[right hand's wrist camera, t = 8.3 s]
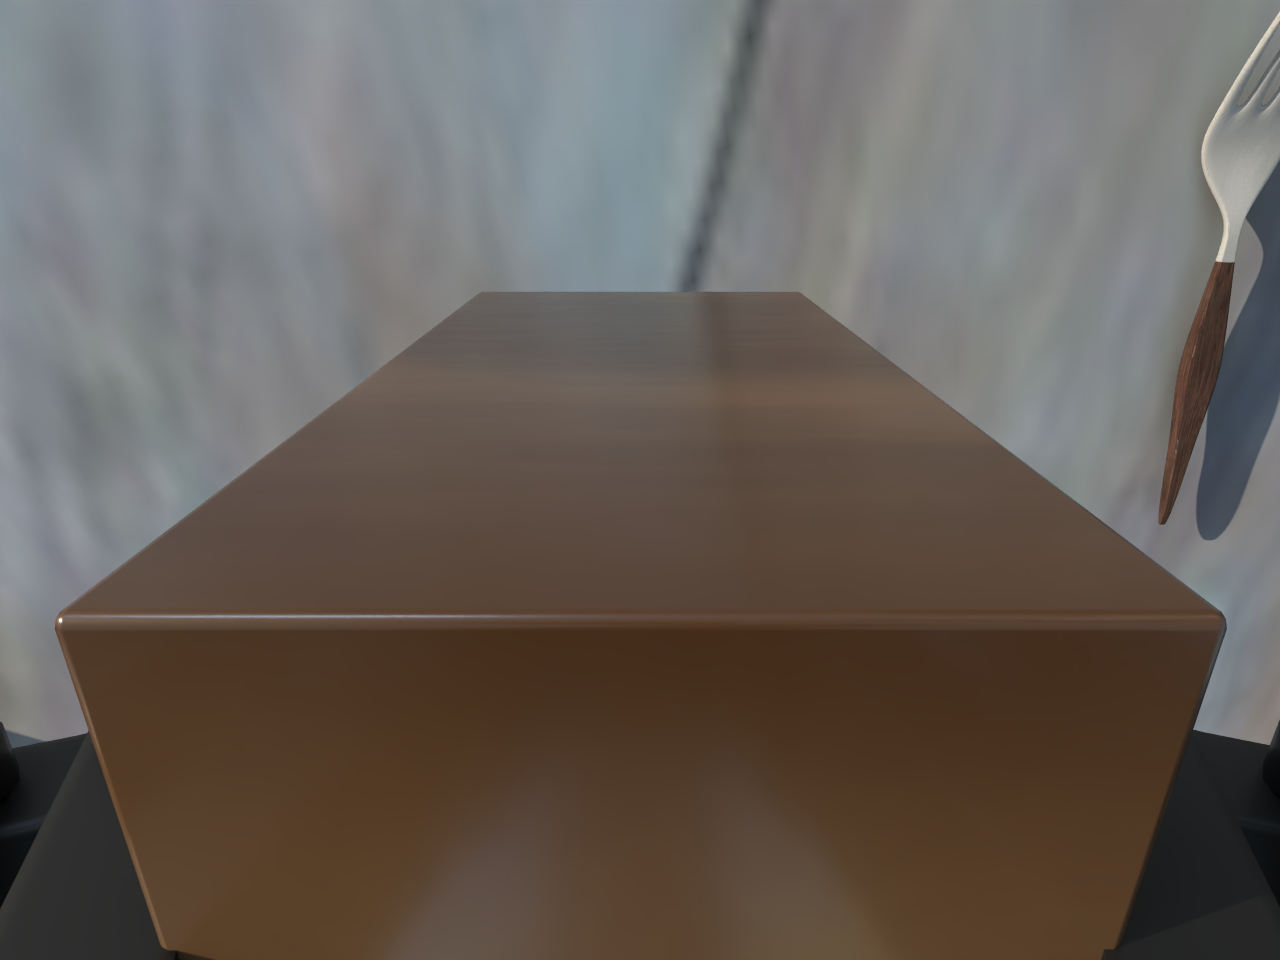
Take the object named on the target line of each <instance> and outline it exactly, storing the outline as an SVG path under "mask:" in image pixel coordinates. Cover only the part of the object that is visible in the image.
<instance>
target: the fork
mask: <svg viewBox="0 0 1280 960" xmlns="http://www.w3.org/2000/svg"><path fill="white" fill-rule="evenodd" d="M1279 24H1280V12H1279V14H1278V15H1277V17H1276V18H1275V20H1274V21H1273V23H1272V24H1271V26H1270V27H1269V29H1268V30H1267V32H1266V33H1265V35H1264V36H1263V38H1262V39H1261V41H1260V42H1259V44H1258V45H1257V47H1256V49H1255V50H1254V52H1253V53H1252V55H1251V56H1250V58H1249V59H1248V61H1247V63H1246V64H1245V66H1244V67H1243V69H1242V71H1241V72H1240V74H1239V75H1238V77H1237V79H1236V80H1235V82H1234V84H1233V85H1232V87H1231V89H1230V90H1229V92H1228V94H1227V96H1226V97H1225V99H1224V101H1223V103H1222V104H1221V106H1220V108H1219V109H1218V111H1217V113H1216V115H1215V117H1214V118H1213V120H1212V122H1211V124H1210V126H1209V128H1208V130H1207V133H1206V135H1205V138H1204V141H1203V145H1202V152H1201V160H1202V167H1203V171H1204V175H1205V178H1206V180H1207V182H1208V185H1209V187H1210V189H1211V191H1212V193H1213V195H1214V197H1215V199H1216V201H1217V203H1218V206H1219V208H1220V210H1221V213H1222V216H1223V221H1224V234H1223V239H1222V243H1221V246H1220V249H1219V252H1218V255H1217V258H1216V261H1215V264H1214V267H1213V269H1212V272H1211V275H1210V278H1209V281H1208V283H1207V286H1206V289H1205V291H1204V294H1203V297H1202V300H1201V302H1200V305H1199V308H1198V311H1197V313H1196V316H1195V319H1194V322H1193V324H1192V327H1191V330H1190V333H1189V336H1188V339H1187V342H1186V345H1185V348H1184V351H1183V355H1182V358H1181V362H1180V366H1179V370H1178V375H1177V381H1176V388H1175V395H1174V404H1173V413H1172V422H1171V430H1170V438H1169V446H1168V452H1167V459H1166V465H1165V471H1164V477H1163V484H1162V491H1161V498H1160V507H1159V524H1165V523H1166V521H1167V519H1168V517H1169V515H1170V513H1171V510H1172V508H1173V505H1174V503H1175V500H1176V497H1177V495H1178V492H1179V489H1180V486H1181V483H1182V480H1183V477H1184V474H1185V471H1186V468H1187V465H1188V462H1189V459H1190V456H1191V453H1192V450H1193V447H1194V445H1195V442H1196V439H1197V436H1198V433H1199V431H1200V428H1201V425H1202V422H1203V420H1204V417H1205V414H1206V411H1207V409H1208V406H1209V403H1210V400H1211V397H1212V394H1213V391H1214V388H1215V385H1216V381H1217V378H1218V374H1219V370H1220V366H1221V360H1222V355H1223V349H1224V342H1225V335H1226V328H1227V320H1228V312H1229V304H1230V296H1231V287H1232V279H1233V271H1234V264H1235V256H1236V250H1237V244H1238V239H1239V235H1240V231H1241V228H1242V225H1243V222H1244V220H1245V218H1246V216H1247V214H1248V212H1249V210H1250V208H1251V206H1252V205H1253V203H1254V201H1255V200H1256V198H1257V196H1258V195H1259V193H1260V192H1261V190H1262V188H1263V187H1264V185H1265V184H1266V182H1267V181H1268V179H1269V177H1270V176H1271V174H1272V173H1273V171H1274V169H1275V168H1276V166H1277V164H1278V162H1279V161H1280V87H1279V89H1278V90H1277V92H1276V93H1275V95H1274V96H1273V97H1272V99H1271V100H1270V101H1269V102H1268V103H1267V104H1266V105H1264V106H1262V100H1263V97H1264V95H1265V93H1266V91H1267V89H1268V87H1269V85H1270V83H1271V82H1272V80H1273V78H1274V76H1275V75H1276V73H1277V71H1278V69H1279V68H1280V50H1279V52H1278V53H1277V55H1276V56H1275V58H1274V59H1273V61H1272V62H1271V64H1270V65H1269V67H1268V68H1267V70H1266V71H1265V73H1264V74H1263V76H1262V78H1261V79H1260V81H1259V82H1258V84H1257V86H1256V87H1255V89H1254V90H1253V92H1252V93H1251V95H1250V96H1249V97H1248V99H1247V100H1246V101H1245V103H1244V104H1243V105H1241V106H1239V107H1238V106H1237V102H1238V99H1239V97H1240V95H1241V93H1242V91H1243V88H1244V86H1245V85H1246V83H1247V81H1248V79H1249V77H1250V75H1251V73H1252V72H1253V70H1254V68H1255V66H1256V64H1257V63H1258V61H1259V59H1260V57H1261V55H1262V54H1263V52H1264V50H1265V48H1266V46H1267V45H1268V43H1269V41H1270V39H1271V38H1272V36H1273V34H1274V32H1275V31H1276V29H1277V27H1278V26H1279Z"/></svg>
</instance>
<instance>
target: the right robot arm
mask: <svg viewBox="0 0 1280 960" xmlns="http://www.w3.org/2000/svg"><path fill="white" fill-rule="evenodd" d="M0 960H179V958H178V955H177V952H176V950H167V949H165V948H163V947H161V945H160V942H159V939H158V936H157V933H156V930H155V927H154V924H153V921H152V918H151V915H150V912H149V909H148V906H147V903H146V900H145V897H144V894H143V891H142V888H141V885H140V882H139V879H138V876H137V873H136V870H135V867H134V864H133V861H132V858H131V855H130V852H129V849H128V846H127V843H126V840H125V837H124V834H123V831H122V828H121V825H120V822H119V819H118V816H117V813H116V810H115V807H114V804H113V801H112V798H111V795H110V792H109V789H108V786H107V783H106V780H105V777H104V774H103V771H102V768H101V765H100V762H99V759H98V756H97V753H96V750H95V747H94V744H93V741H92V738H91V735H90V732H89V731H88V733H86V734H82V735H78V736H73V737H68V738H63V739H58V740H53V741H48V742H43V743H38V744H33V745H28V746H23V747H18V748H13V749H12V747H11V745H10V742H9V739H8V737H7V734H6V732H5V729H4V726H3V724H2V723H1V722H0ZM1101 960H1280V721H1279V723H1278V726H1277V728H1276V731H1275V733H1274V736H1273V739H1272V741H1271V744H1270V745H1265V744H1260V743H1255V742H1250V741H1245V740H1240V739H1235V738H1230V737H1225V736H1220V735H1215V734H1210V733H1205V732H1200V731H1197V730H1193V731H1192V734H1191V737H1190V740H1189V743H1188V746H1187V749H1186V752H1185V755H1184V758H1183V761H1182V764H1181V767H1180V770H1179V773H1178V776H1177V779H1176V782H1175V785H1174V788H1173V791H1172V793H1171V796H1170V799H1169V802H1168V805H1167V808H1166V811H1165V814H1164V817H1163V820H1162V823H1161V826H1160V829H1159V832H1158V835H1157V838H1156V841H1155V844H1154V847H1153V850H1152V853H1151V856H1150V859H1149V862H1148V865H1147V868H1146V871H1145V874H1144V877H1143V880H1142V883H1141V886H1140V889H1139V892H1138V895H1137V898H1136V901H1135V904H1134V907H1133V910H1132V913H1131V916H1130V919H1129V922H1128V925H1127V928H1126V931H1125V934H1124V937H1123V939H1122V942H1121V945H1120V946H1118V947H1116V948H1114V949H1104V952H1103V955H1102V958H1101Z"/></svg>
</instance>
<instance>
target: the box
mask: <svg viewBox="0 0 1280 960" xmlns="http://www.w3.org/2000/svg"><path fill="white" fill-rule="evenodd" d="M1226 630H1227V626H1226V619H1225V617H1224V615H1223V614H1222V612H1221V611H1219V610H1218V609H1217V608H1215V607H1214V606H1213V605H1211V604H1210V603H1209V602H1208V601H1206V600H1205V599H1204V598H1202V597H1201V596H1200V595H1198V594H1197V593H1196V592H1194V591H1193V590H1192V589H1190V588H1189V587H1188V586H1186V585H1185V584H1184V583H1182V582H1181V581H1180V580H1179V579H1177V578H1176V577H1175V576H1173V575H1172V574H1171V573H1169V572H1168V571H1167V570H1165V569H1164V568H1163V567H1161V566H1160V565H1159V564H1157V563H1156V562H1155V561H1153V560H1152V559H1151V558H1149V557H1148V556H1147V555H1146V554H1144V553H1143V552H1142V551H1140V550H1139V549H1138V548H1136V547H1135V546H1134V545H1132V544H1131V543H1130V542H1128V541H1127V540H1126V539H1124V538H1123V537H1122V536H1120V535H1119V534H1118V533H1117V532H1115V531H1114V530H1113V529H1111V528H1110V527H1109V526H1107V525H1106V524H1105V523H1103V522H1102V521H1101V520H1099V519H1098V518H1097V517H1095V516H1094V515H1093V514H1091V513H1090V512H1089V511H1088V510H1086V509H1085V508H1084V507H1082V506H1081V505H1080V504H1078V503H1077V502H1076V501H1074V500H1073V499H1072V498H1070V497H1069V496H1068V495H1066V494H1065V493H1064V492H1062V491H1061V490H1060V489H1059V488H1057V487H1056V486H1055V485H1053V484H1052V483H1051V482H1049V481H1048V480H1047V479H1045V478H1044V477H1043V476H1041V475H1040V474H1039V473H1037V472H1036V471H1035V470H1033V469H1032V468H1031V467H1029V466H1028V465H1027V464H1026V463H1024V462H1023V461H1022V460H1020V459H1019V458H1018V457H1016V456H1015V455H1014V454H1012V453H1011V452H1010V451H1008V450H1007V449H1006V448H1004V447H1003V446H1002V445H1000V444H999V443H998V442H997V441H995V440H994V439H993V438H991V437H990V436H989V435H987V434H986V433H985V432H983V431H982V430H981V429H979V428H978V427H977V426H975V425H974V424H973V423H971V422H970V421H969V420H968V419H966V418H965V417H964V416H962V415H961V414H960V413H958V412H957V411H956V410H954V409H953V408H952V407H950V406H949V405H948V404H946V403H945V402H944V401H942V400H941V399H940V398H939V397H937V396H936V395H935V394H933V393H932V392H931V391H929V390H928V389H927V388H925V387H924V386H923V385H921V384H920V383H919V382H917V381H916V380H915V379H913V378H912V377H911V376H910V375H908V374H907V373H906V372H904V371H903V370H902V369H900V368H899V367H898V366H896V365H895V364H894V363H892V362H891V361H890V360H888V359H887V358H886V357H884V356H883V355H882V354H880V353H879V352H878V351H877V350H875V349H874V348H873V347H871V346H870V345H869V344H867V343H866V342H865V341H863V340H862V339H861V338H859V337H858V336H857V335H855V334H854V333H853V332H851V331H850V330H849V329H848V328H846V327H845V326H844V325H842V324H841V323H840V322H838V321H837V320H836V319H834V318H833V317H832V316H830V315H829V314H828V313H826V312H825V311H824V310H822V309H821V308H820V307H819V306H817V305H816V304H815V303H813V302H812V301H811V300H809V299H808V298H807V297H805V296H804V295H803V294H801V293H799V292H481V293H479V294H478V295H476V296H475V297H474V298H472V299H471V300H470V301H468V302H467V303H466V304H464V305H463V306H462V307H461V308H459V309H458V310H457V311H455V312H454V313H453V314H451V315H450V316H449V317H447V318H446V319H445V320H443V321H442V322H441V323H439V324H438V325H437V326H436V327H434V328H433V329H432V330H430V331H429V332H428V333H426V334H425V335H424V336H422V337H421V338H420V339H418V340H417V341H416V342H415V343H413V344H412V345H411V346H409V347H408V348H407V349H405V350H404V351H403V352H401V353H400V354H399V355H397V356H396V357H395V358H393V359H392V360H391V361H390V362H388V363H387V364H386V365H384V366H383V367H382V368H380V369H379V370H378V371H376V372H375V373H374V374H372V375H371V376H370V377H369V378H367V379H366V380H365V381H363V382H362V383H361V384H359V385H358V386H357V387H355V388H354V389H353V390H351V391H350V392H349V393H347V394H346V395H345V396H344V397H342V398H341V399H340V400H338V401H337V402H336V403H334V404H333V405H332V406H330V407H329V408H328V409H326V410H325V411H324V412H322V413H321V414H320V415H319V416H317V417H316V418H315V419H313V420H312V421H311V422H309V423H308V424H307V425H305V426H304V427H303V428H301V429H300V430H299V431H298V432H296V433H295V434H294V435H292V436H291V437H290V438H288V439H287V440H286V441H284V442H283V443H282V444H280V445H279V446H278V447H276V448H275V449H274V450H273V451H271V452H270V453H269V454H267V455H266V456H265V457H263V458H262V459H261V460H259V461H258V462H257V463H255V464H254V465H253V466H252V467H250V468H249V469H248V470H246V471H245V472H244V473H242V474H241V475H240V476H238V477H237V478H236V479H234V480H233V481H232V482H230V483H229V484H228V485H227V486H225V487H224V488H223V489H221V490H220V491H219V492H217V493H216V494H215V495H213V496H212V497H211V498H209V499H208V500H207V501H205V502H204V503H203V504H202V505H200V506H199V507H198V508H196V509H195V510H194V511H192V512H191V513H190V514H188V515H187V516H186V517H184V518H183V519H182V520H181V521H179V522H178V523H177V524H175V525H174V526H173V527H171V528H170V529H169V530H167V531H166V532H165V533H163V534H162V535H161V536H159V537H158V538H157V539H156V540H154V541H153V542H152V543H150V544H149V545H148V546H146V547H145V548H144V549H142V550H141V551H140V552H138V553H137V554H136V555H135V556H133V557H132V558H131V559H129V560H128V561H127V562H125V563H124V564H123V565H121V566H120V567H119V568H117V569H116V570H115V571H113V572H112V573H111V574H110V575H108V576H107V577H106V578H104V579H103V580H102V581H100V582H99V583H98V584H96V585H95V586H94V587H92V588H91V589H90V590H88V591H87V592H86V593H85V594H83V595H82V596H81V597H79V598H78V599H77V600H75V601H74V602H73V603H71V604H70V605H69V606H67V607H66V608H65V609H64V610H62V611H61V612H60V613H59V615H58V616H57V618H56V623H55V631H56V634H57V637H58V640H59V643H60V646H61V649H62V652H63V655H64V658H65V661H66V664H67V667H68V670H69V673H70V676H71V679H72V682H73V684H74V687H75V690H76V693H77V696H78V699H79V702H80V705H81V708H82V711H83V714H84V717H85V720H86V723H87V726H88V729H89V732H90V735H91V738H92V741H93V744H94V747H95V750H96V753H97V756H98V759H99V762H100V765H101V768H102V771H103V774H104V777H105V780H106V783H107V786H108V789H109V792H110V795H111V798H112V801H113V804H114V807H115V810H116V813H117V816H118V819H119V822H120V825H121V828H122V831H123V834H124V837H125V840H126V843H127V846H128V849H129V852H130V855H131V858H132V861H133V864H134V867H135V870H136V873H137V876H138V879H139V882H140V885H141V888H142V891H143V894H144V897H145V900H146V903H147V906H148V909H149V912H150V915H151V918H152V921H153V924H154V927H155V930H156V933H157V936H158V939H159V942H160V945H161V947H163V948H165V949H167V950H176V952H177V955H178V958H179V960H1101V958H1102V955H1103V952H1104V949H1114V948H1116V947H1118V946H1120V945H1121V942H1122V939H1123V937H1124V934H1125V931H1126V928H1127V925H1128V922H1129V919H1130V916H1131V913H1132V910H1133V907H1134V904H1135V901H1136V898H1137V895H1138V892H1139V889H1140V886H1141V883H1142V880H1143V877H1144V874H1145V871H1146V868H1147V865H1148V862H1149V859H1150V856H1151V853H1152V850H1153V847H1154V844H1155V841H1156V838H1157V835H1158V832H1159V829H1160V826H1161V823H1162V820H1163V817H1164V814H1165V811H1166V808H1167V805H1168V802H1169V799H1170V796H1171V793H1172V791H1173V788H1174V785H1175V782H1176V779H1177V776H1178V773H1179V770H1180V767H1181V764H1182V761H1183V758H1184V755H1185V752H1186V749H1187V746H1188V743H1189V740H1190V737H1191V734H1192V731H1193V728H1194V725H1195V722H1196V719H1197V716H1198V713H1199V710H1200V707H1201V704H1202V701H1203V698H1204V695H1205V692H1206V689H1207V686H1208V683H1209V680H1210V677H1211V674H1212V671H1213V668H1214V665H1215V662H1216V659H1217V656H1218V653H1219V650H1220V647H1221V645H1222V642H1223V639H1224V636H1225V633H1226Z"/></svg>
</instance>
